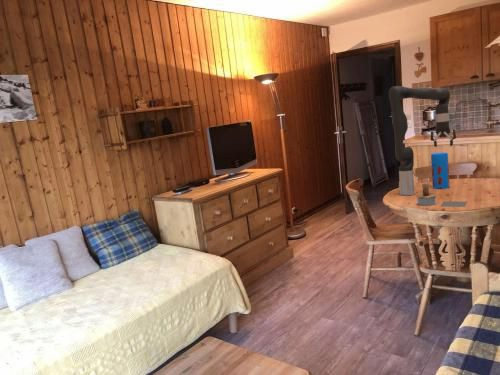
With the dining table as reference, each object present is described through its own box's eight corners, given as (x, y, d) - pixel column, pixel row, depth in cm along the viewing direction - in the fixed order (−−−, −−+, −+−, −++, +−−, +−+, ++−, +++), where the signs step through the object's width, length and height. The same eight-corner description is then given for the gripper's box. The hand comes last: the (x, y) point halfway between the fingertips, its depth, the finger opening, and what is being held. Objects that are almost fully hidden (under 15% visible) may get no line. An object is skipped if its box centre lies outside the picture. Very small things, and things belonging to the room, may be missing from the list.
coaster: (439, 207, 228) (439, 206, 227) (443, 202, 238) (443, 201, 238) (464, 207, 220) (464, 206, 220) (467, 202, 230) (467, 201, 230)
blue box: (448, 189, 271) (446, 153, 267) (431, 189, 277) (430, 155, 273) (449, 186, 280) (448, 152, 276) (433, 186, 286) (432, 153, 282)
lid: (414, 198, 236) (413, 186, 234) (418, 194, 244) (417, 182, 243) (434, 198, 229) (433, 185, 228) (437, 194, 238) (436, 182, 237)
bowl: (416, 206, 237) (415, 198, 236) (419, 202, 245) (419, 194, 244) (434, 206, 231) (433, 198, 230) (437, 202, 239) (436, 194, 238)
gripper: (428, 122, 241) (430, 148, 244) (454, 120, 233) (455, 146, 236) (431, 121, 247) (432, 146, 250) (456, 119, 239) (457, 145, 242)
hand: (443, 146), depth 243 cm, fingers open, 8 cm apart
